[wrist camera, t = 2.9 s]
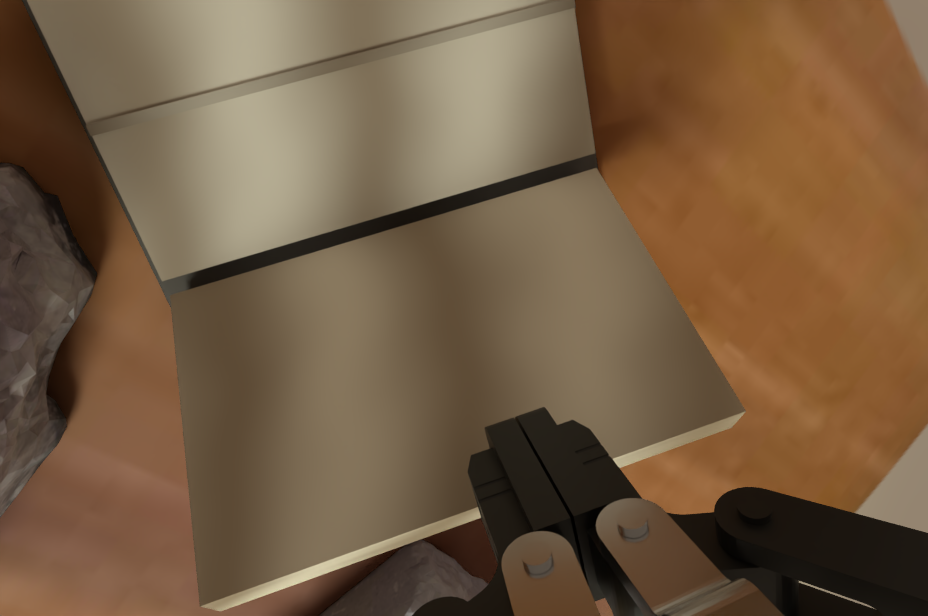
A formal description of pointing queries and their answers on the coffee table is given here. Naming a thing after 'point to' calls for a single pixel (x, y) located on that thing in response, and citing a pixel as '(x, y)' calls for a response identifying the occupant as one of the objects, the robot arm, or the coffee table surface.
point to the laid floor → (314, 116)
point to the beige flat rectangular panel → (421, 377)
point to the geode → (33, 321)
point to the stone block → (407, 584)
